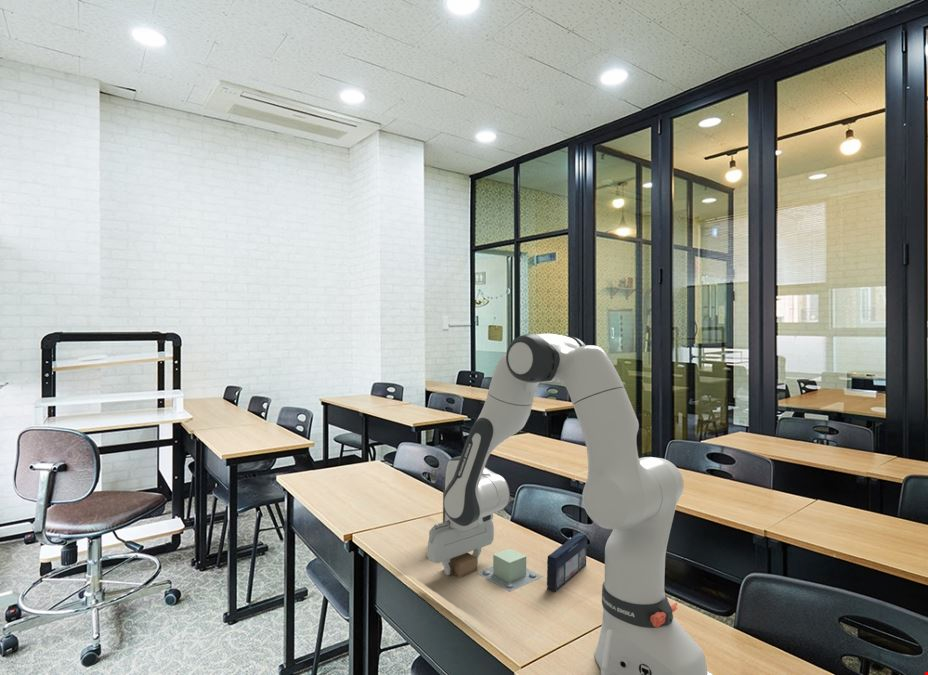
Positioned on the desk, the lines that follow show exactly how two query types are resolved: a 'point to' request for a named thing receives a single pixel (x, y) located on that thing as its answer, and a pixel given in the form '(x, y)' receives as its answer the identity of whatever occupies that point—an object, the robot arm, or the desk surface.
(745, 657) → the desk surface
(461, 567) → the walnut brick
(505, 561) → the green brick
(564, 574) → the vhs cassette tape
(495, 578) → the base plate
